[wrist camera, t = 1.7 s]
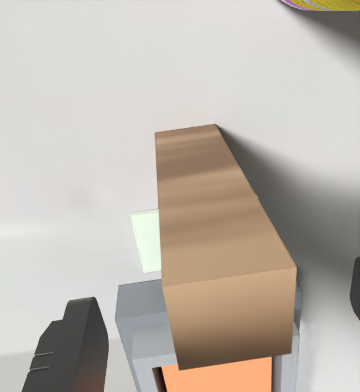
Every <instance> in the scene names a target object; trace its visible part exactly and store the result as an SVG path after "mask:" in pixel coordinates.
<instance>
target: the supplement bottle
mask: <svg viewBox="0 0 360 392" xmlns="http://www.w3.org/2000/svg"><path fill="white" fill-rule="evenodd" d="M281 1H283V2H284V3H286V4H288V5H290V6H292V7H295V8H298V9H302V10H309V11H360V0H281Z"/></svg>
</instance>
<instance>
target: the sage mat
mask: <svg viewBox="0 0 360 392" xmlns="http://www.w3.org/2000/svg"><path fill="white" fill-rule="evenodd" d="M256 196H257V198H258V200H259V197H258V195H257V194H256ZM131 221H132V225H133V229H134V234H135V238H136V242H137V247H138V251H139V255H140V260H141V264H142V268H143V273H144V272H151V271H158V270H161V251H160V230H159V209H154V210H147V211H140V212H133V213H131Z"/></svg>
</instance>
